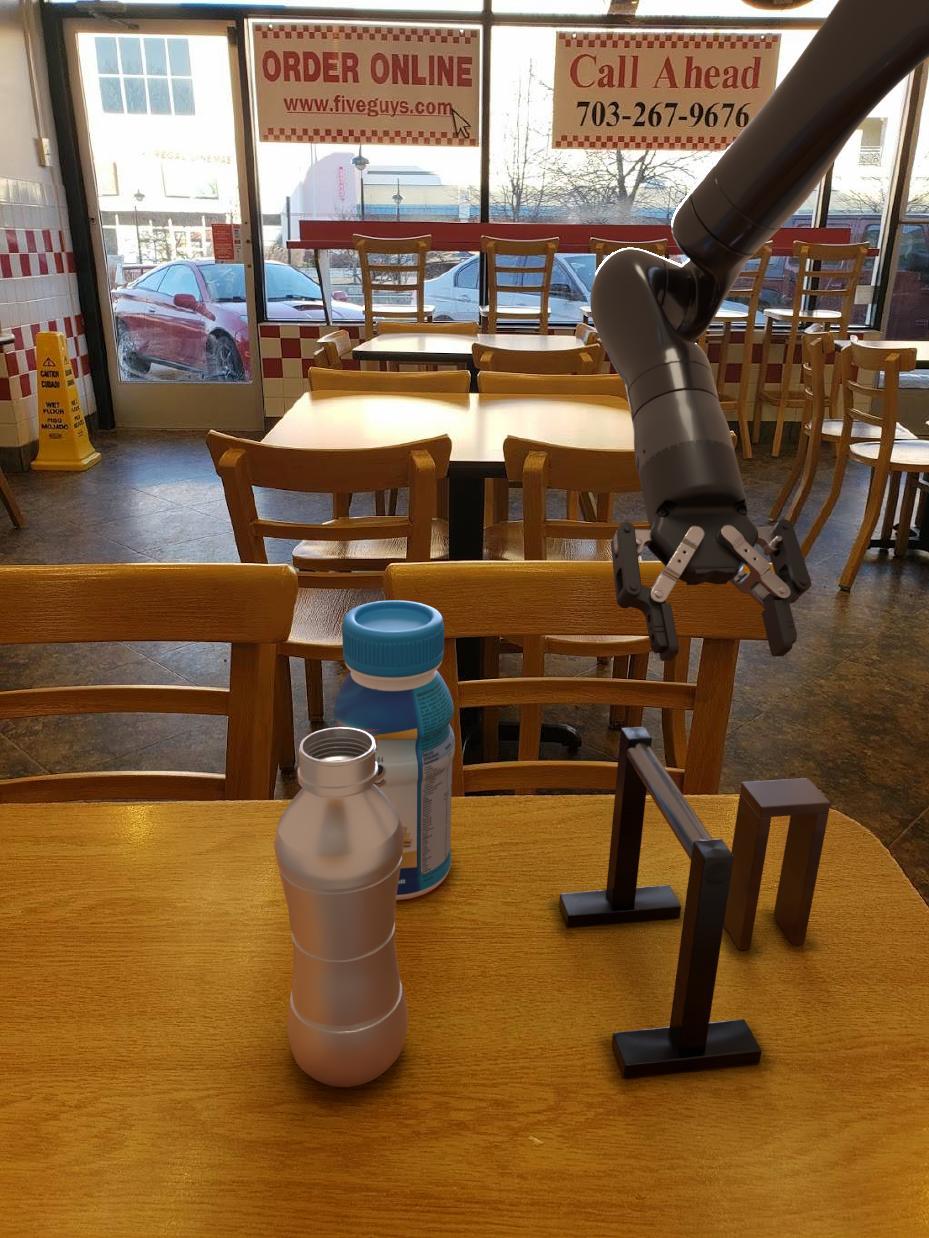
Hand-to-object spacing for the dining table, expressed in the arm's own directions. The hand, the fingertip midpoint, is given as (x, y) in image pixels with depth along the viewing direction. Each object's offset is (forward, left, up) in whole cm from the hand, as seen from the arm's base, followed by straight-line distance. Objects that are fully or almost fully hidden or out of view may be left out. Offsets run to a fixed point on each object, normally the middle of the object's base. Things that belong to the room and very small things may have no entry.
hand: (727, 655), depth 68 cm
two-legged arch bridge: (0, +11, -16) cm, 19 cm away
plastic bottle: (+28, +18, -16) cm, 37 cm away
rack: (+9, +14, -16) cm, 23 cm away
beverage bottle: (+24, +1, -16) cm, 29 cm away
